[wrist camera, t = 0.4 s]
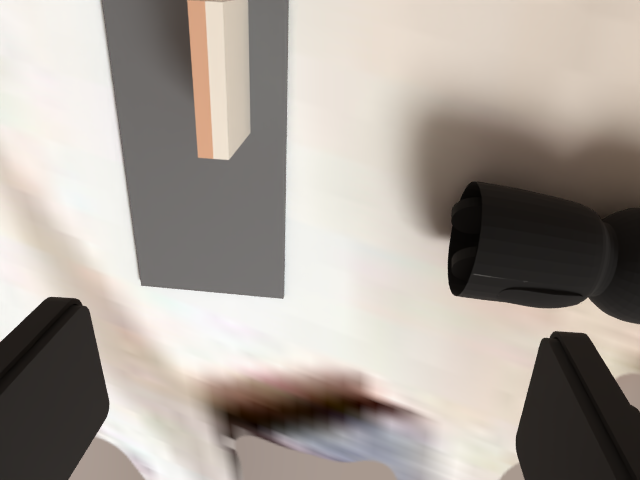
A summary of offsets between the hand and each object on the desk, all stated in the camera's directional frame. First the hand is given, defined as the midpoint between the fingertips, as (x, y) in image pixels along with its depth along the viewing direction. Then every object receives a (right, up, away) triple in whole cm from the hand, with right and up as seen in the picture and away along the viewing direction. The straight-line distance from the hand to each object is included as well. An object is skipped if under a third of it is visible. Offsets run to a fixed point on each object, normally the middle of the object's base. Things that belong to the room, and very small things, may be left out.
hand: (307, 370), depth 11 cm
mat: (-10, +9, +33) cm, 36 cm away
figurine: (+21, +4, +33) cm, 40 cm away
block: (-6, +16, +29) cm, 34 cm away
